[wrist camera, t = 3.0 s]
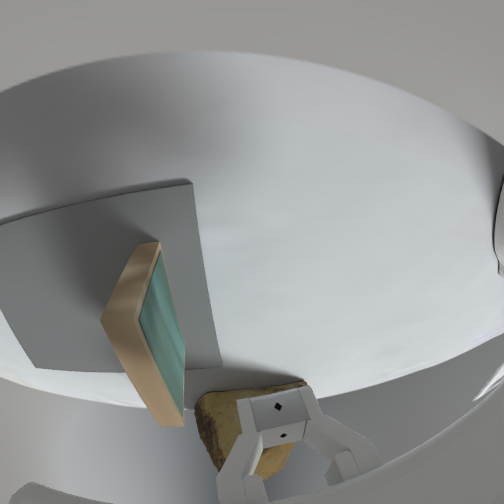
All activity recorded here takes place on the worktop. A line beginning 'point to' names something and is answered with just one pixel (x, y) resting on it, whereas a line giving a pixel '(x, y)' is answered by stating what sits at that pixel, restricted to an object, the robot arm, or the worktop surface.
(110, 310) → the coaster
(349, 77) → the worktop surface
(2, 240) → the mat
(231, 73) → the worktop surface
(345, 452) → the robot arm
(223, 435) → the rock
